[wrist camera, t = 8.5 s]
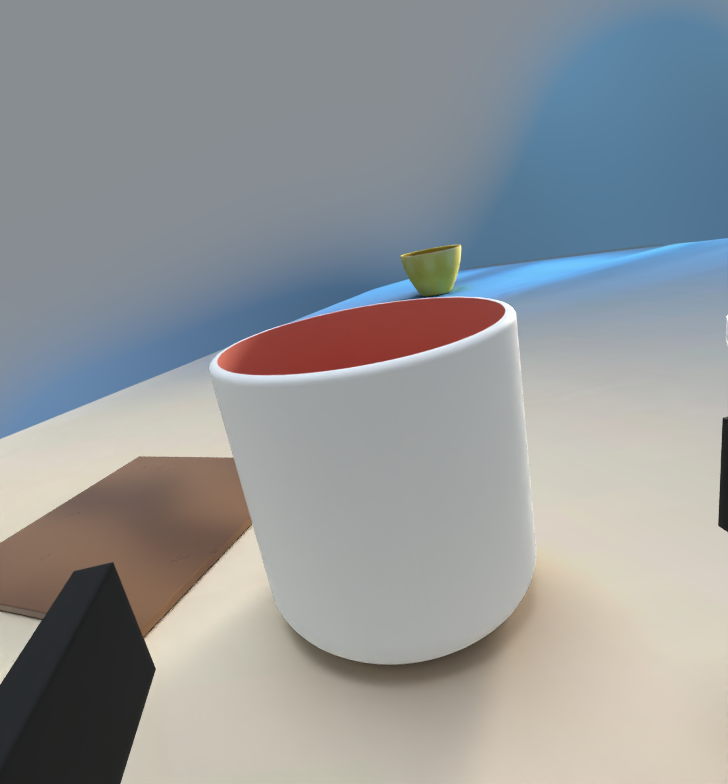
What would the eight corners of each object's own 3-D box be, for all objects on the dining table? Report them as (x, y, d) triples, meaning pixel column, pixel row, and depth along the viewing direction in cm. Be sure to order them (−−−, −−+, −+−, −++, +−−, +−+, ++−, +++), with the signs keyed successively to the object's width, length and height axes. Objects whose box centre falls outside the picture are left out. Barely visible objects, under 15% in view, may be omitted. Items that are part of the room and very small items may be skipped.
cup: (282, 534, 24) (228, 332, 21) (482, 489, 25) (458, 286, 22) (274, 723, 15) (174, 408, 12) (596, 642, 16) (582, 323, 13)
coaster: (141, 639, 19) (137, 631, 19) (-72, 596, 25) (-75, 589, 25) (309, 464, 31) (307, 458, 31) (140, 461, 37) (139, 456, 37)
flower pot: (404, 302, 83) (397, 258, 81) (408, 293, 93) (402, 253, 90) (467, 293, 81) (461, 247, 79) (464, 284, 91) (459, 243, 88)
